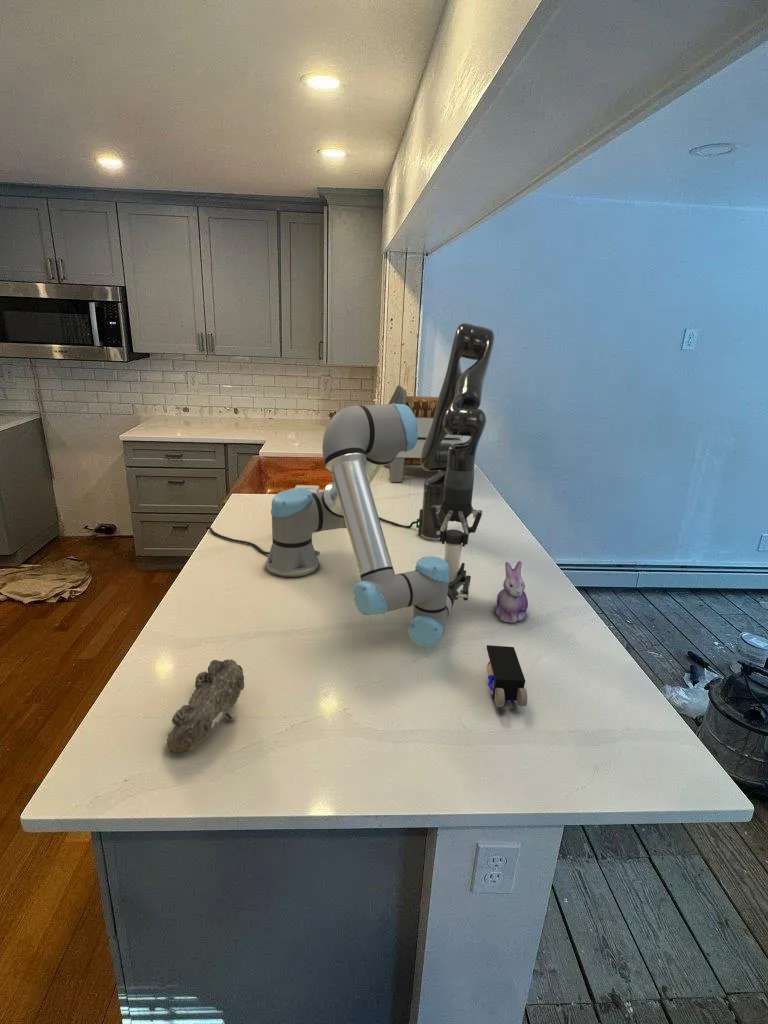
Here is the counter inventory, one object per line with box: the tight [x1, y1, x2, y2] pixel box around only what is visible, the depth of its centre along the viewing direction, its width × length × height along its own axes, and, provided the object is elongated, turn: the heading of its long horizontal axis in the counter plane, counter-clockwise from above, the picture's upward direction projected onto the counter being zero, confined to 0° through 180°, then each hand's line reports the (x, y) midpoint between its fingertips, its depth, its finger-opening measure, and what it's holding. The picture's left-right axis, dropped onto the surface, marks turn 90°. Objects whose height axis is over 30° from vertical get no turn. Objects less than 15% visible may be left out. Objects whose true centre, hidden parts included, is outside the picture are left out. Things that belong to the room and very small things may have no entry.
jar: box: [443, 541, 462, 583], centre depth 156 cm, size 4×4×18 cm
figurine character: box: [485, 644, 528, 712], centre depth 117 cm, size 7×8×15 cm
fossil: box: [166, 658, 245, 754], centre depth 106 cm, size 22×10×15 cm
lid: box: [445, 529, 464, 545], centre depth 153 cm, size 5×5×2 cm
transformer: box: [383, 384, 464, 483], centre depth 268 cm, size 34×33×41 cm
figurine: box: [495, 560, 529, 624], centre depth 147 cm, size 9×10×15 cm
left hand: (454, 565), depth 162 cm, fingers closed on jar, 4 cm apart
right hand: (453, 544), depth 154 cm, fingers closed on lid, 5 cm apart
